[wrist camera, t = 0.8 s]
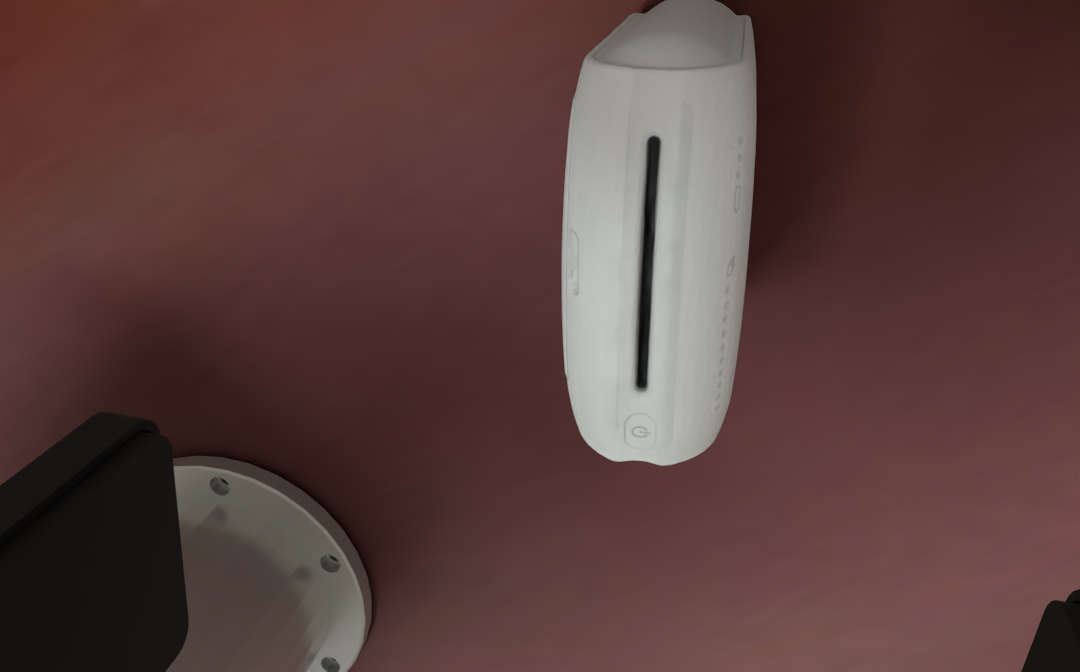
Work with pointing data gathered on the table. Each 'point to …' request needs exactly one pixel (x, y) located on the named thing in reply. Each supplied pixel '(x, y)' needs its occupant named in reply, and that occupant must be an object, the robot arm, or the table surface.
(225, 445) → the table surface
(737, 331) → the photo printer
